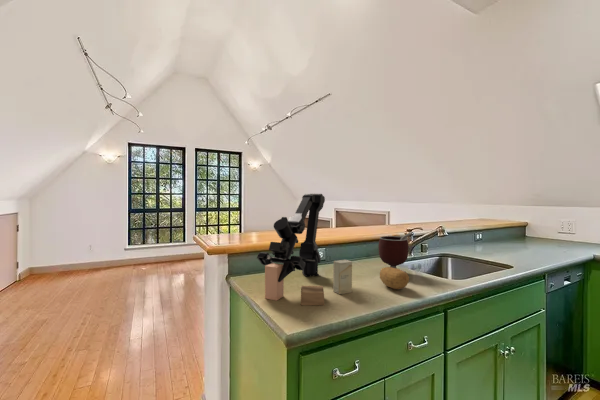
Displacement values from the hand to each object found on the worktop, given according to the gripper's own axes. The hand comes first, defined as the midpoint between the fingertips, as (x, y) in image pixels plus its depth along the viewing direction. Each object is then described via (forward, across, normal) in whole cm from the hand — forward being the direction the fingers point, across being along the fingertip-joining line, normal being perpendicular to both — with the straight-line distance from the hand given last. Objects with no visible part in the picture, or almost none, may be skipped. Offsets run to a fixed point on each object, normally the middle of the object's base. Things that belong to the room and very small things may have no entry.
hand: (272, 280), depth 104 cm
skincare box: (-8, +21, +18) cm, 29 cm away
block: (+4, 0, +6) cm, 7 cm away
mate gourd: (-34, +36, +44) cm, 66 cm away
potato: (-18, +38, +28) cm, 50 cm away
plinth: (+2, +14, +8) cm, 16 cm away
